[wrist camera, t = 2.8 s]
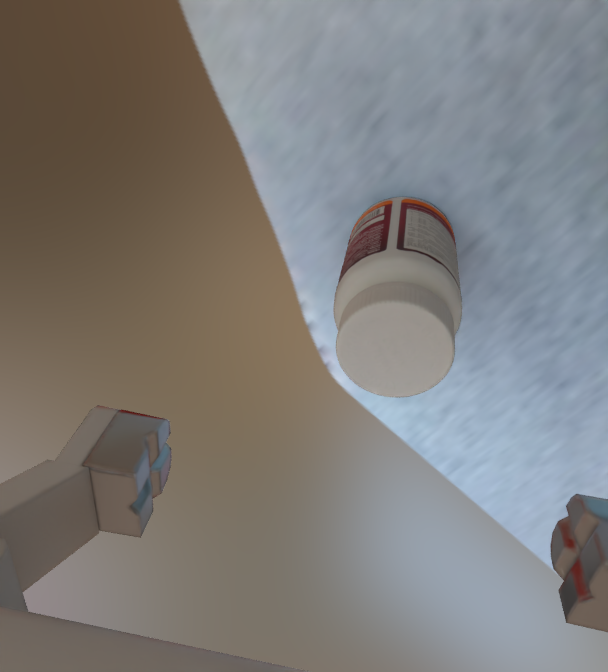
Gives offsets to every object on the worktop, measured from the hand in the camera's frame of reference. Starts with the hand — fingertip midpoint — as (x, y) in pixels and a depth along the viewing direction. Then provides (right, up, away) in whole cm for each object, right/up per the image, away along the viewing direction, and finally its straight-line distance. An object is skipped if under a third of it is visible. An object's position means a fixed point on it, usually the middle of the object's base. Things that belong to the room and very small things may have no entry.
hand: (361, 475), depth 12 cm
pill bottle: (+5, +8, +23) cm, 25 cm away
